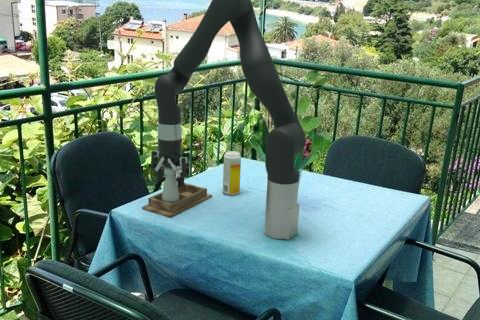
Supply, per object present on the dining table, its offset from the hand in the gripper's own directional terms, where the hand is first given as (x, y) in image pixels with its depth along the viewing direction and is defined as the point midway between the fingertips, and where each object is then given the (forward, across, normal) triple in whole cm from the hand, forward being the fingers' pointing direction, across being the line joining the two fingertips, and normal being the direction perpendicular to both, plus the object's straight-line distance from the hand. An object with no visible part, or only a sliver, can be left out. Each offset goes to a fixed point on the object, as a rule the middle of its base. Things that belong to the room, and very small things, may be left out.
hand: (170, 184), depth 169 cm
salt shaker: (+7, 0, 0) cm, 7 cm away
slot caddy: (+8, 0, -5) cm, 9 cm away
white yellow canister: (+8, -9, -24) cm, 26 cm away
